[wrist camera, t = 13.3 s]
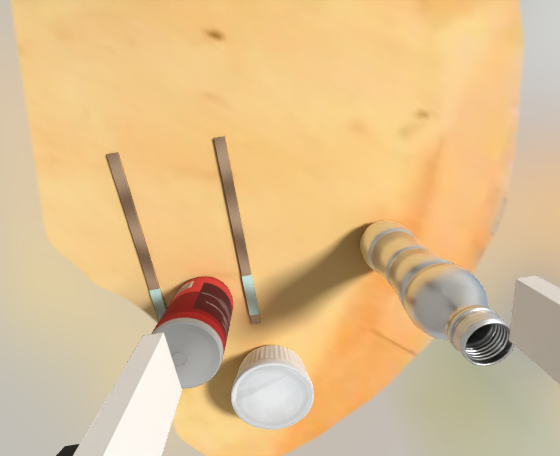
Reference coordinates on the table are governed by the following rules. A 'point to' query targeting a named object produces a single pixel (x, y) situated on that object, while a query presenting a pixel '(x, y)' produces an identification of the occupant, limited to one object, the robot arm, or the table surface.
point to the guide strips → (234, 217)
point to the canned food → (197, 329)
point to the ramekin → (272, 388)
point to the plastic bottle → (437, 293)
